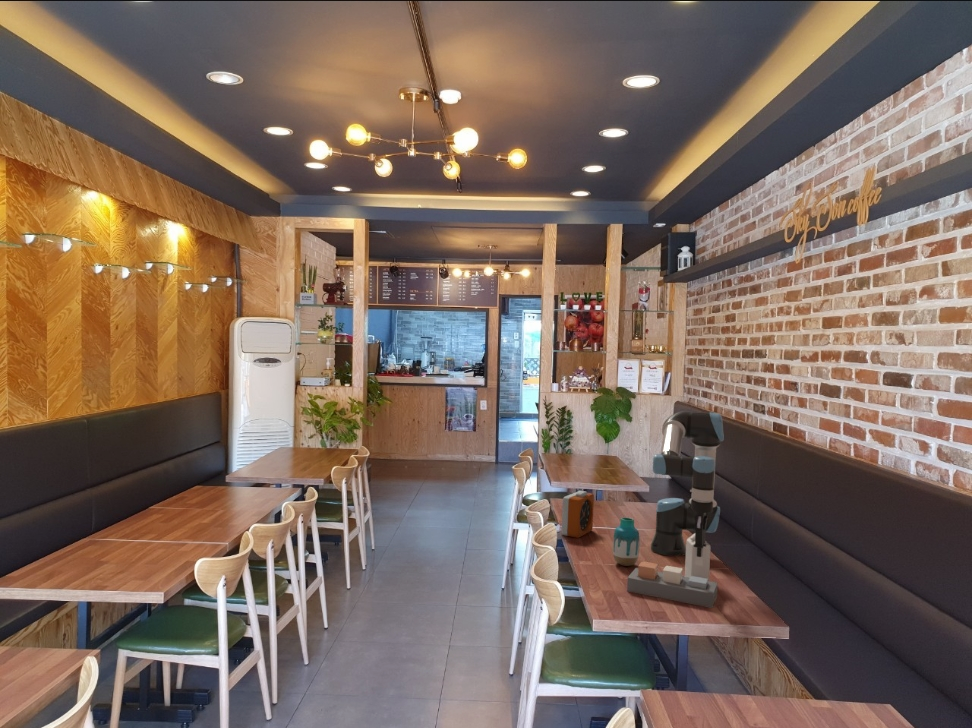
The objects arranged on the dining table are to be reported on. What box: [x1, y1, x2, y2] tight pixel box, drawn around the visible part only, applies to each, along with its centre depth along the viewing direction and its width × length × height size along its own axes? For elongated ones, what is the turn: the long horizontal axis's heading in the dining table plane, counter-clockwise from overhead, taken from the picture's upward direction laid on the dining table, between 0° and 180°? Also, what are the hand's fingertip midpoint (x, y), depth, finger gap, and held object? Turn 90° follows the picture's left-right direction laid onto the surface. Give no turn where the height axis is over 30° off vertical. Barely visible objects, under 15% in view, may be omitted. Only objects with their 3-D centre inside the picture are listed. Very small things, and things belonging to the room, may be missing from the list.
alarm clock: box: [561, 490, 595, 539], centre depth 317 cm, size 18×9×21 cm, turn 148°
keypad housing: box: [626, 567, 718, 609], centre depth 241 cm, size 13×30×5 cm, turn 64°
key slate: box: [688, 576, 708, 589], centre depth 237 cm, size 6×6×6 cm
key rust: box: [637, 561, 659, 580], centre depth 245 cm, size 6×6×6 cm
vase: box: [612, 516, 640, 567], centre depth 272 cm, size 11×11×19 cm
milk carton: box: [684, 532, 711, 581], centre depth 256 cm, size 7×7×19 cm
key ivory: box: [662, 565, 684, 584], centre depth 241 cm, size 6×6×6 cm
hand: (699, 564), depth 237 cm, fingers closed
